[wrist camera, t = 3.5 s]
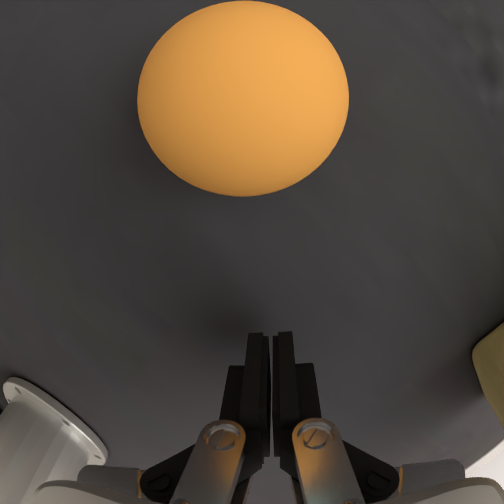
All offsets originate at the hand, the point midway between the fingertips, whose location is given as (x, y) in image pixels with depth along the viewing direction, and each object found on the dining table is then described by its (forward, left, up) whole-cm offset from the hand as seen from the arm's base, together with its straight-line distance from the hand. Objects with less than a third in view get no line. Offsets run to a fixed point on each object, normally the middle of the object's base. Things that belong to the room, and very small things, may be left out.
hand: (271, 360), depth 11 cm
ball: (+5, +8, +1) cm, 9 cm away
